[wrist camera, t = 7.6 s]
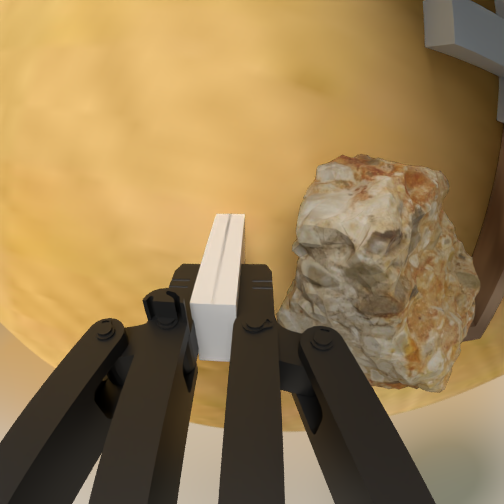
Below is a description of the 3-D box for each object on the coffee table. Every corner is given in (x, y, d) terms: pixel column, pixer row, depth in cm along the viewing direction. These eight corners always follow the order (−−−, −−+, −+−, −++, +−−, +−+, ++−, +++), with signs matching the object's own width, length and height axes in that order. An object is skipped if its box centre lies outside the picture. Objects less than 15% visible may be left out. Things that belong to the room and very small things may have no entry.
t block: (417, -39, 8) (442, -54, 5) (521, 16, 7) (549, 15, 5) (423, 97, 12) (453, 103, 10) (522, 131, 12) (551, 143, 9)
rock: (257, 296, 19) (267, 448, 10) (281, 125, 13) (351, 188, 5) (416, 301, 19) (478, 409, 11) (465, 168, 14) (584, 247, 6)
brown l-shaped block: (351, 83, 12) (375, 83, 9) (516, 128, 12) (551, 143, 9) (323, 317, 20) (330, 355, 17) (462, 309, 20) (480, 338, 17)
